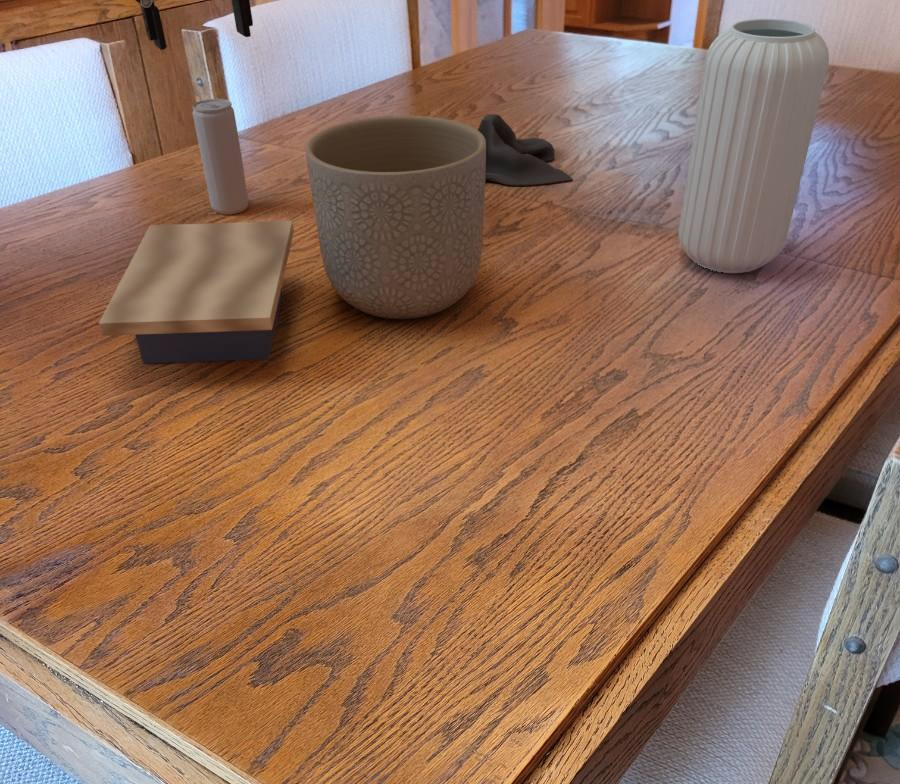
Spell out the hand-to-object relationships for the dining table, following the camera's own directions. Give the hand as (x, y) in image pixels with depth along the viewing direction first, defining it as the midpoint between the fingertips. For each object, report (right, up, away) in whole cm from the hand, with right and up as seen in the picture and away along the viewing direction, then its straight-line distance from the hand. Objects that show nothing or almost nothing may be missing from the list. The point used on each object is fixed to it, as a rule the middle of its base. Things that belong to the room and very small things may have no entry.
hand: (202, 40), depth 101 cm
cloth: (+35, -3, +23) cm, 41 cm away
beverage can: (0, -14, +13) cm, 19 cm away
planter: (+23, -31, -6) cm, 39 cm away
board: (+4, -32, -14) cm, 35 cm away
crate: (+4, -35, -10) cm, 37 cm away
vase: (+59, -25, -1) cm, 64 cm away
